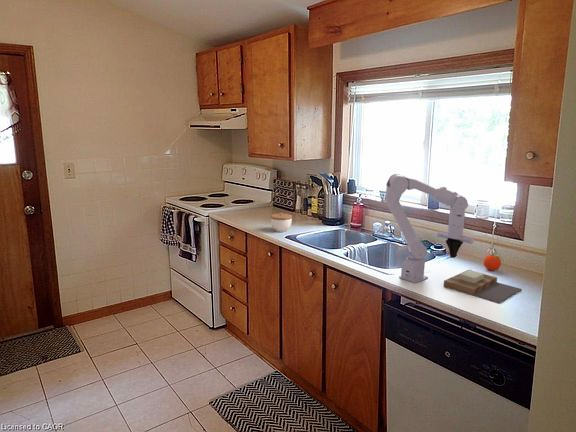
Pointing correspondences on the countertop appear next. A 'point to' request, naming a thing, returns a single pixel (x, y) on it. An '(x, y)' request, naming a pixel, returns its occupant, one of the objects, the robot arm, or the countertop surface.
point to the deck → (469, 284)
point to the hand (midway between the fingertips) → (453, 257)
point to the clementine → (492, 262)
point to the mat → (497, 292)
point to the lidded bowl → (281, 222)
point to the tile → (471, 276)
